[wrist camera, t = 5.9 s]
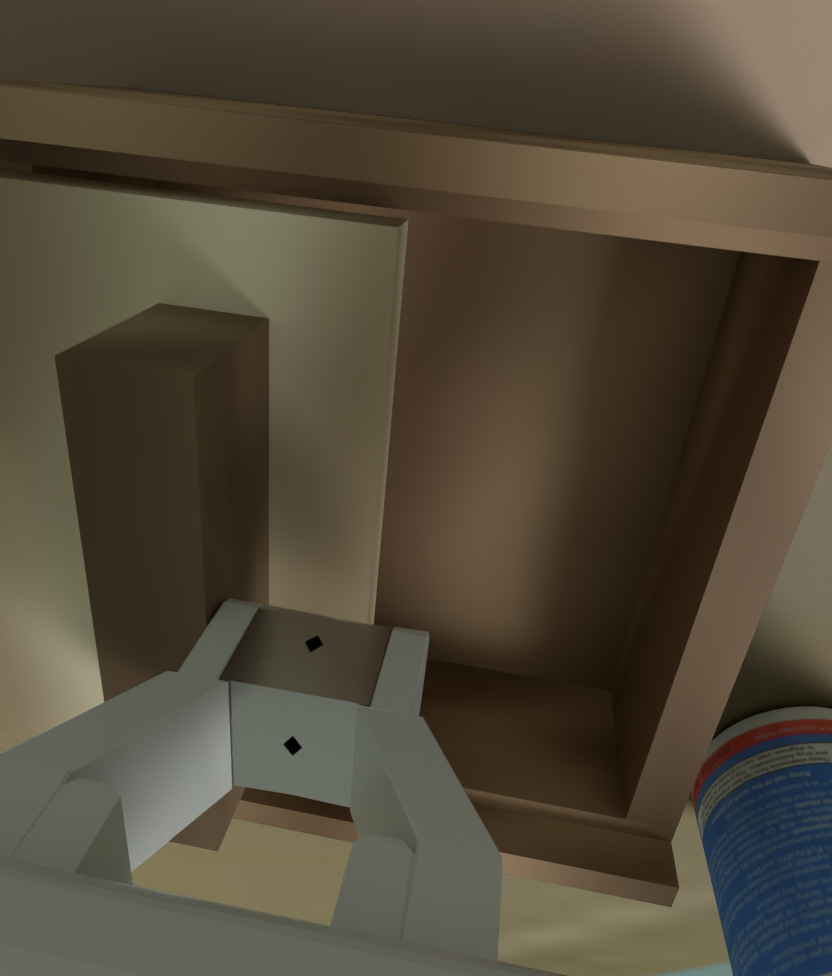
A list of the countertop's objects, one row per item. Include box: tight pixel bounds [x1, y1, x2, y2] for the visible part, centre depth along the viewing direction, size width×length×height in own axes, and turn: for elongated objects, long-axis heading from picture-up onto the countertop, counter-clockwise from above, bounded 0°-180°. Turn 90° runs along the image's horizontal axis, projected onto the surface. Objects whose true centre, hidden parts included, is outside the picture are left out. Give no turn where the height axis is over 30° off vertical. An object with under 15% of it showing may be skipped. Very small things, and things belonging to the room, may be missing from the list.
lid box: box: [0, 80, 832, 907], centre depth 14 cm, size 13×13×6 cm
